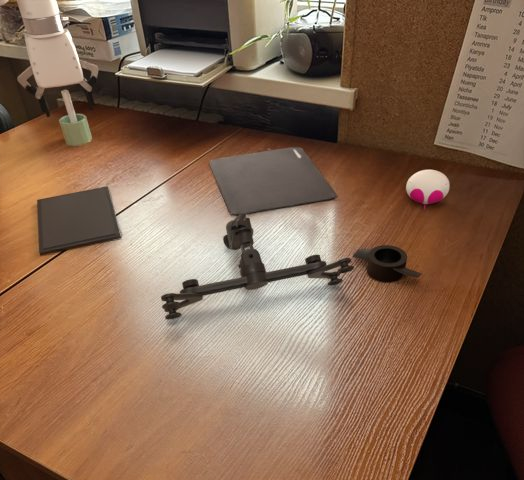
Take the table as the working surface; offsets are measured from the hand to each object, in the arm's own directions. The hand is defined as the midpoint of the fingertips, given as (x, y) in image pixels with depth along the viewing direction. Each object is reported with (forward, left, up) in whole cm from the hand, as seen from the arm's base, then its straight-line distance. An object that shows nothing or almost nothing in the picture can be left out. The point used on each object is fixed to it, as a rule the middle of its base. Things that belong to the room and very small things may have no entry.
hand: (70, 111), depth 116 cm
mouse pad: (+44, -26, -7) cm, 52 cm away
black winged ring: (+60, -60, -7) cm, 85 cm away
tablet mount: (+38, -59, -7) cm, 71 cm away
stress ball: (+72, -40, -7) cm, 83 cm away
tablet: (+7, -37, -7) cm, 38 cm away
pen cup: (0, 0, -7) cm, 7 cm away
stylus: (0, 0, -7) cm, 7 cm away
